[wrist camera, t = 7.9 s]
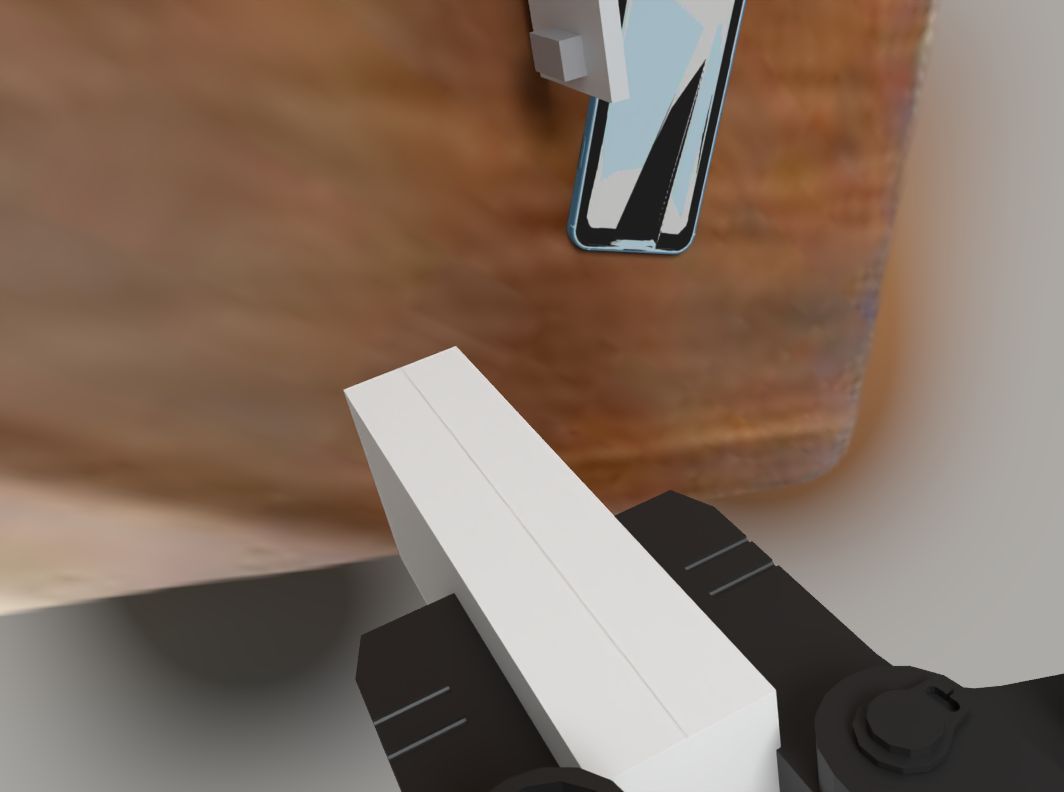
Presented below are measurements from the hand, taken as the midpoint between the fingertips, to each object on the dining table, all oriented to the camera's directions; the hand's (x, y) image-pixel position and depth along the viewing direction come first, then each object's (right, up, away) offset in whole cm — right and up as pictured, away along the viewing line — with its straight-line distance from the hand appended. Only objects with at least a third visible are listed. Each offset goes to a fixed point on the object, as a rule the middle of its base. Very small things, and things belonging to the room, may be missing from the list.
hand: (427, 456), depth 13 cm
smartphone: (+7, +16, +37) cm, 41 cm away
